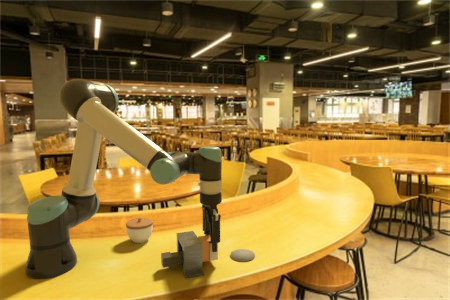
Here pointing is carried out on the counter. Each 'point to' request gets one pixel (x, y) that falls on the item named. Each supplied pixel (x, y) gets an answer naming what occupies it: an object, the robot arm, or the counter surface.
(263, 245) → the counter surface
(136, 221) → the lidded jar
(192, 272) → the housing
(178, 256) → the plug
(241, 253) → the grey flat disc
